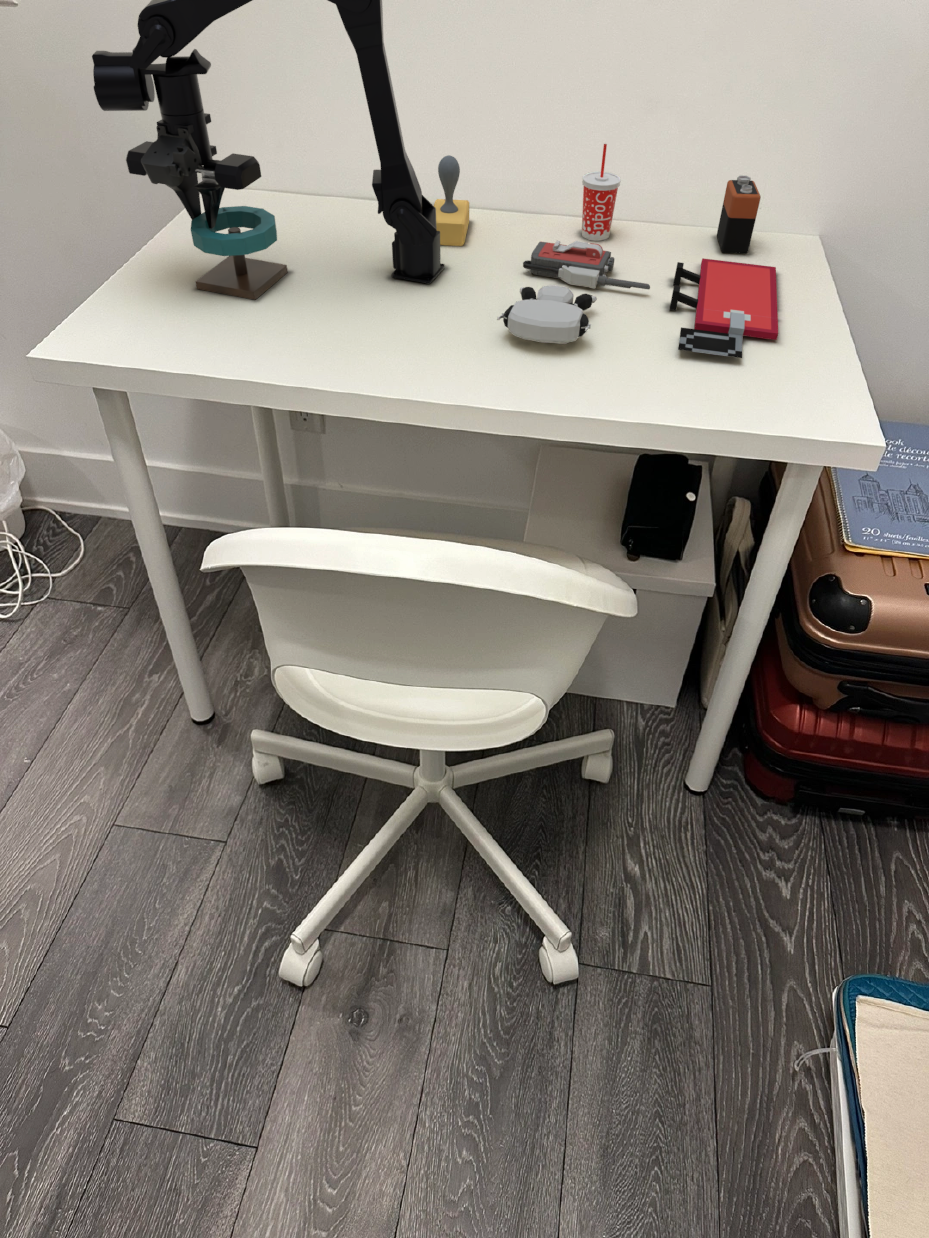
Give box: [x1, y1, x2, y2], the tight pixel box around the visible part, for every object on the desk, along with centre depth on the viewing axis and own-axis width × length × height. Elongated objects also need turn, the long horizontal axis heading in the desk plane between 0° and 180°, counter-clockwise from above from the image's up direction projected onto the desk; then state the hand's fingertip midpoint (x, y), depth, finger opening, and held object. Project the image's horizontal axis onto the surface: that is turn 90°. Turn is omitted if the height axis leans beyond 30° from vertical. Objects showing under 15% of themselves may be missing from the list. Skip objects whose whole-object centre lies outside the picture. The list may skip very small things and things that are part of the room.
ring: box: [190, 205, 278, 257], centre depth 131 cm, size 12×12×2 cm
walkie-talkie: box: [522, 240, 651, 290], centre depth 136 cm, size 9×4×20 cm
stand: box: [195, 227, 289, 301], centre depth 133 cm, size 10×10×8 cm
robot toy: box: [496, 284, 598, 345], centre depth 124 cm, size 12×4×15 cm
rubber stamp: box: [433, 154, 470, 247], centre depth 145 cm, size 10×6×12 cm, turn 175°
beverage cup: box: [581, 143, 622, 242], centre depth 144 cm, size 6×6×14 cm
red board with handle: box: [669, 257, 779, 359], centre depth 129 cm, size 30×3×15 cm
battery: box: [716, 174, 761, 255], centre depth 143 cm, size 4×7×10 cm, turn 176°
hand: (205, 226), depth 132 cm, fingers closed on ring, 2 cm apart
